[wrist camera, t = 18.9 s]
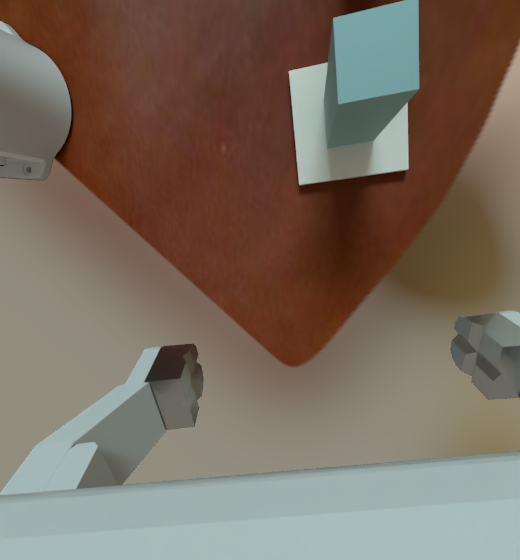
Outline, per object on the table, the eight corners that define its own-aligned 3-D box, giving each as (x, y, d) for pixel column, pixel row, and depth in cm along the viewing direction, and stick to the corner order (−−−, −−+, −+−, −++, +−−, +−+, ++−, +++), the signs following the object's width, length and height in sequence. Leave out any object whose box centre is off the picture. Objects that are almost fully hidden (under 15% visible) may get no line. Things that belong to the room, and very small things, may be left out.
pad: (299, 185, 35) (299, 184, 34) (289, 75, 33) (288, 71, 32) (405, 170, 33) (408, 169, 32) (403, 50, 31) (406, 45, 30)
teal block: (326, 148, 33) (338, 104, 19) (323, 100, 32) (333, 18, 18) (373, 141, 32) (419, 88, 19) (371, 90, 31) (418, -3, 18)
